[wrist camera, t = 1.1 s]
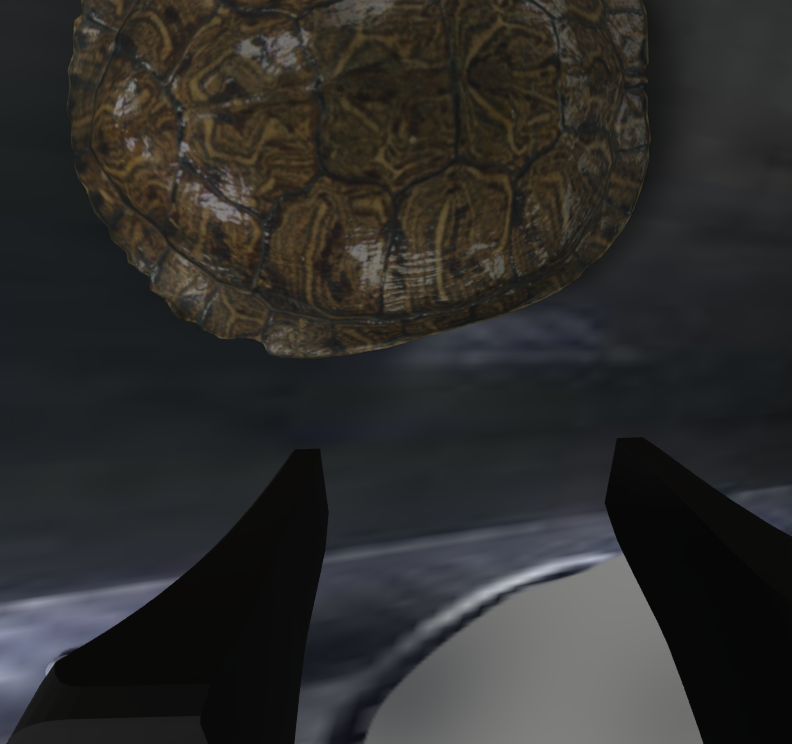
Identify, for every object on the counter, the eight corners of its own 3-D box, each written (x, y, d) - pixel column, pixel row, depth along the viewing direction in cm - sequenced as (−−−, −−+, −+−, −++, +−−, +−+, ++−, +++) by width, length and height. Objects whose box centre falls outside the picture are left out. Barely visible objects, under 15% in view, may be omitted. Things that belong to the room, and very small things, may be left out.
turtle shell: (-99, -230, 13) (735, -357, 13) (96, -27, 22) (589, -102, 22) (83, 423, 16) (749, 319, 16) (188, 366, 25) (617, 300, 25)
